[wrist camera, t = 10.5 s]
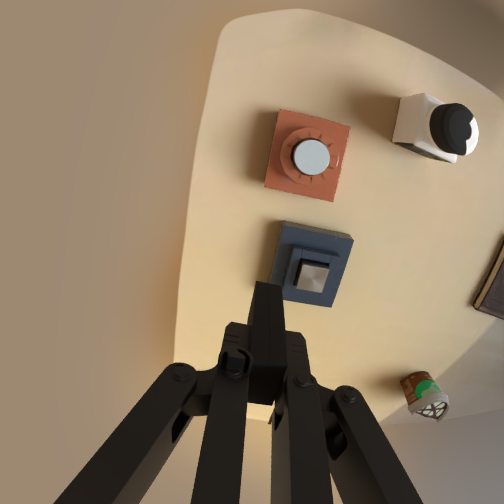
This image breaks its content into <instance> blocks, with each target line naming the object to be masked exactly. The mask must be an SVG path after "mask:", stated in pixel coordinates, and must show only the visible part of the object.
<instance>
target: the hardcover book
mask: <svg viewBox="0 0 504 504" xmlns="http://www.w3.org/2000/svg"><path fill="white" fill-rule="evenodd" d="M473 307H474V308H475V309H476V310H478V311H481V312H484V313H487V314H489V315H492V316H495V317H498V318H501V319H503V320H504V241H503V244H502V246H501V249H500V251H499V253H498V255H497V258H496V260H495V262H494V264H493V266H492V268H491V270H490V272H489V274H488V277H487V279H486V280H485V282H484V284H483V286H482V288H481V290H480V292H479V294H478V296H477V297H476V299H475V301H474V303H473Z"/></svg>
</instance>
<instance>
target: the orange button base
mask: <svg viewBox="0 0 504 504" xmlns="http://www.w3.org/2000/svg"><path fill="white" fill-rule="evenodd" d="M349 132H350V127H349V126H346V125H342V124H339V123H335V122H332V121H328V120H324V119H320V118H316V117H312V116H308V115H304V114H300V113H295V112H291V111H286V110H281V109H280V110H279V112H278V117H277V122H276V127H275V132H274V137H273V142H272V147H271V152H270V157H269V162H268V167H267V172H266V177H265V182H264V187H266V188H271V189H276V190H281V191H285V192H290V193H295V194H299V195H304V196H308V197H313V198H317V199H322V200H326V201H330V202H333V201H334V197H335V193H336V189H337V185H338V181H339V177H340V173H341V168H342V164H343V160H344V155H345V151H346V146H347V142H348V137H349ZM305 140H316V141H319V142H321V143H322V144H324V145H325V146H326V148H327V149H328V152H329V156H330V160H329V164H328V166H327V168H326V169H325V170H324V171H323V172H321V173H319V174H316V175H308V174H305V173H303V172H302V171H301V170H299V169H298V168H297V167H296V165H295V164H294V161H293V151H294V149H295V147H296V146H297V145H298V144H299V143H300V142H302V141H305Z"/></svg>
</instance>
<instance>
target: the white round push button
mask: <svg viewBox="0 0 504 504" xmlns="http://www.w3.org/2000/svg"><path fill="white" fill-rule="evenodd" d="M329 160H330V156H329V152H328V149H327V148H326V146H325V145H324V144H322V143H321V142H319V141H316V140H305V141H302V142H300V143H299V144H298V145H297V146H296V147H295V149H294V151H293V161H294V164H295V165H296V167H297V168H298V169H299V170H301V171H302V172H303V173H305V174H308V175H316V174H319V173H321V172H323V171H324V170H325V169H326V168H327V166H328V164H329Z"/></svg>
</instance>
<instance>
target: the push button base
mask: <svg viewBox="0 0 504 504" xmlns="http://www.w3.org/2000/svg"><path fill="white" fill-rule="evenodd" d="M353 242H354V240H353V238H352V237H351V236H350V235H348V234H344V233H339V232H335V231H330V230H326V229H321V228H317V227H312V226H307V225H302V224H298V223H293V222H288V221H283V222H282V226H281V231H280V235H279V239H278V244H277V248H276V252H275V257H274V261H273V265H272V269H271V273H270V278H269V282H268V283H270V284H275V285H281V286H282V295H283V300H287V301H293V302H299V303H305V304H311V305H318V306H324V307H330V308H331V307H332V304H333V302H334V299H335V296H336V293H337V290H338V288H339V285H340V282H341V279H342V276H343V273H344V270H345V267H346V264H347V261H348V258H349V255H350V251H351V248H352V245H353ZM302 259H304V260H309V261H314V262H319V263H324V264H327V265H328V268H329V272H328V275H327V278H326V281H325V284H324V287H323V290H322V293H319V292H313V291H307V290H302V289H296V284H295V281H296V278H297V274H298V270H299V267H300V263H301V260H302Z"/></svg>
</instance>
